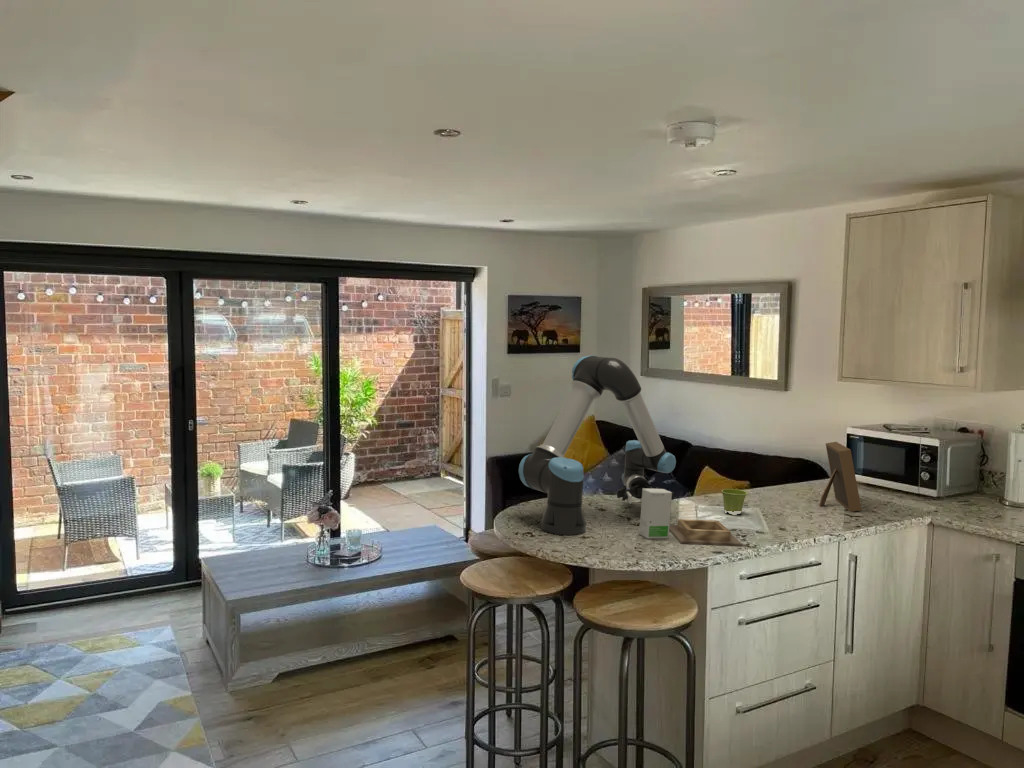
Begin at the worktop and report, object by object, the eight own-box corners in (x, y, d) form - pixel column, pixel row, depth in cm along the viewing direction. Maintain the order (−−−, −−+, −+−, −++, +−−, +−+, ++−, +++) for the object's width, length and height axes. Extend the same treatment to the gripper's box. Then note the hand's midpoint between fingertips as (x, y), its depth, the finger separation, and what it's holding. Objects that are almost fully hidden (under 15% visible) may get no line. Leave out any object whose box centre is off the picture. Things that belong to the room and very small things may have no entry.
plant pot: (746, 517, 282) (748, 495, 282) (720, 515, 284) (722, 492, 284) (744, 512, 292) (745, 490, 291) (719, 509, 293) (720, 487, 293)
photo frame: (846, 500, 322) (850, 442, 320) (861, 512, 300) (865, 450, 298) (809, 497, 324) (813, 440, 322) (822, 509, 303) (826, 448, 301)
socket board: (680, 543, 243) (681, 532, 243) (666, 527, 263) (667, 516, 263) (741, 546, 244) (742, 534, 243) (723, 529, 264) (723, 518, 263)
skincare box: (646, 539, 247) (649, 492, 246) (638, 533, 253) (640, 488, 252) (669, 538, 249) (672, 492, 248) (660, 533, 255) (663, 487, 254)
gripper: (670, 497, 282) (685, 512, 261) (604, 495, 281) (613, 509, 260) (672, 477, 281) (686, 490, 260) (605, 475, 281) (614, 488, 259)
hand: (650, 500), depth 260 cm, fingers open, 13 cm apart
